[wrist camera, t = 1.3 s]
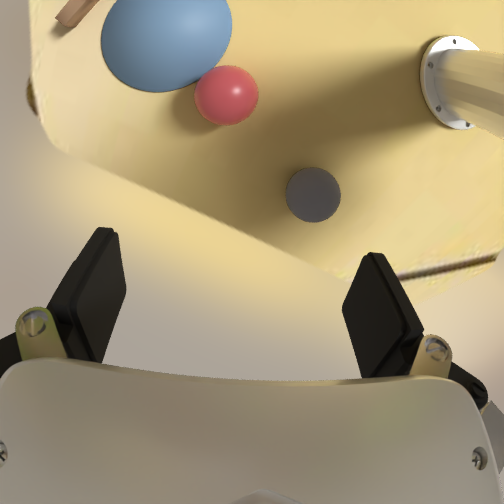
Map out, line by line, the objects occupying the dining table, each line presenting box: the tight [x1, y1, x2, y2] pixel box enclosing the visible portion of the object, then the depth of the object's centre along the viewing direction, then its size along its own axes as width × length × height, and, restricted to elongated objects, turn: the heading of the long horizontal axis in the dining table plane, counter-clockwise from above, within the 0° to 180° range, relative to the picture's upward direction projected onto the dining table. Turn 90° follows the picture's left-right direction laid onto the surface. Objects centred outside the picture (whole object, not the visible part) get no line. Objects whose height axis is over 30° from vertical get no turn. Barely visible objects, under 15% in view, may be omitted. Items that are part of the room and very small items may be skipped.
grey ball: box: [286, 168, 341, 222], centre depth 32 cm, size 6×6×6 cm
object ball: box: [194, 65, 258, 125], centre depth 25 cm, size 6×6×6 cm
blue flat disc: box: [101, 0, 232, 92], centre depth 23 cm, size 14×14×1 cm
